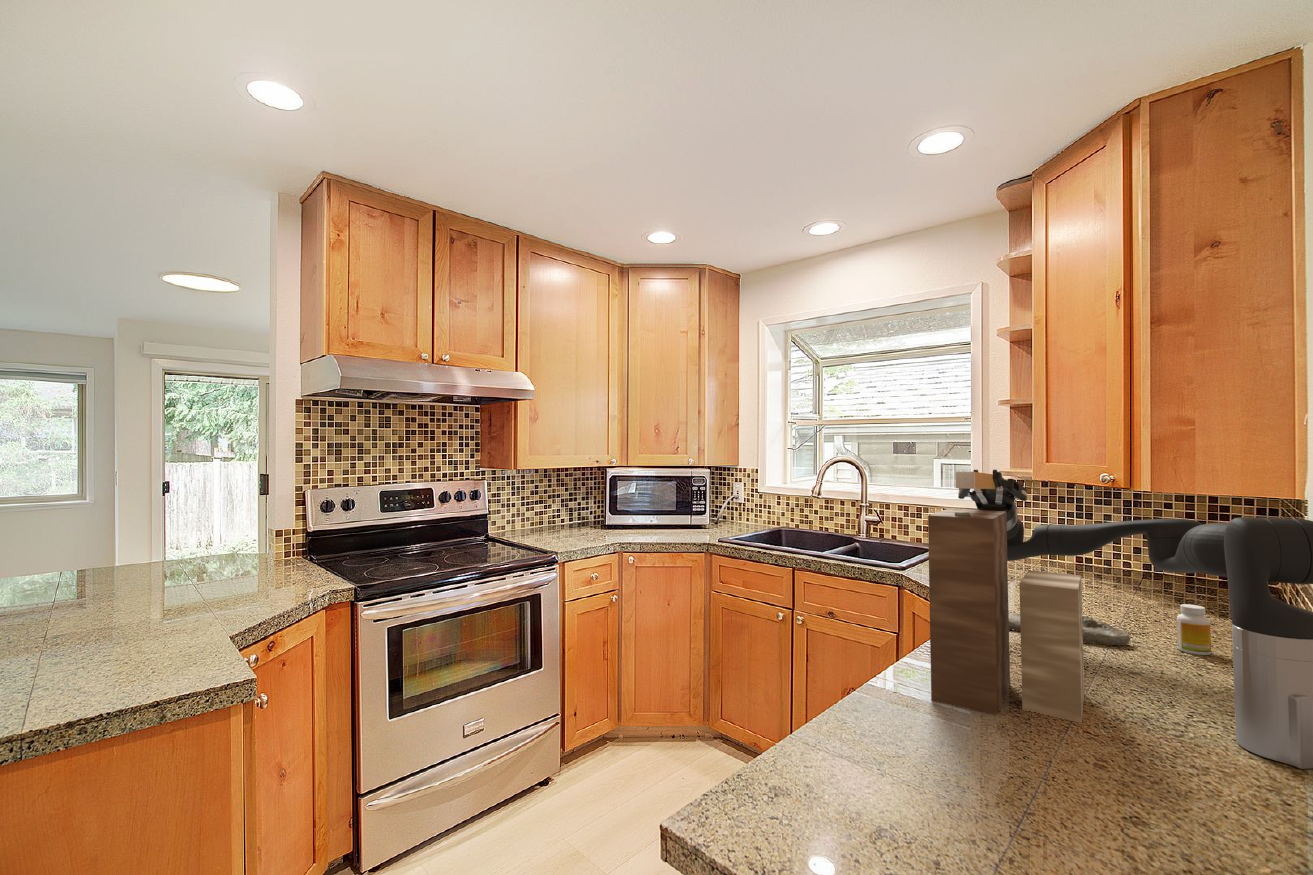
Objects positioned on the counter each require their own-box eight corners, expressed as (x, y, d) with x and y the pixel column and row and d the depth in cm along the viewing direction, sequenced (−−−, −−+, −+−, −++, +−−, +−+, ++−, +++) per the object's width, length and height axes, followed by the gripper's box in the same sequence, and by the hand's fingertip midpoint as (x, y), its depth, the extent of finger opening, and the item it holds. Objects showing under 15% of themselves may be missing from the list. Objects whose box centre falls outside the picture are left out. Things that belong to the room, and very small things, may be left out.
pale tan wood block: (981, 488, 127) (980, 474, 127) (997, 489, 125) (996, 474, 125) (955, 488, 107) (955, 471, 107) (974, 488, 105) (974, 471, 105)
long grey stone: (967, 619, 159) (955, 629, 151) (965, 600, 159) (953, 609, 152) (1133, 639, 135) (1128, 652, 127) (1130, 616, 135) (1125, 628, 128)
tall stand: (950, 673, 115) (947, 505, 116) (1010, 685, 109) (1006, 508, 110) (931, 700, 102) (927, 511, 103) (997, 715, 96) (992, 515, 97)
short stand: (1031, 684, 109) (1028, 570, 110) (1084, 694, 104) (1081, 575, 105) (1022, 709, 98) (1019, 583, 99) (1081, 722, 93) (1078, 589, 94)
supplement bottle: (1218, 656, 124) (1216, 609, 124) (1188, 654, 125) (1186, 608, 126) (1200, 648, 129) (1198, 603, 130) (1171, 646, 130) (1170, 602, 131)
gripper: (964, 493, 140) (949, 457, 128) (1034, 495, 131) (1025, 457, 120) (961, 522, 137) (946, 488, 125) (1033, 526, 128) (1023, 490, 116)
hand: (984, 473), depth 122 cm, fingers closed on pale tan wood block, 3 cm apart
